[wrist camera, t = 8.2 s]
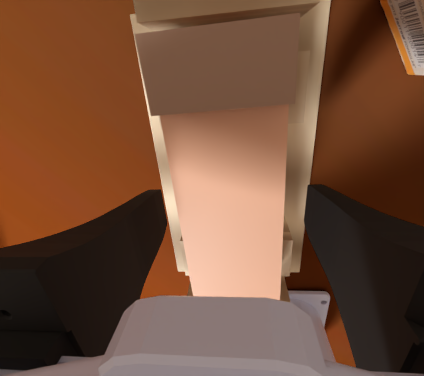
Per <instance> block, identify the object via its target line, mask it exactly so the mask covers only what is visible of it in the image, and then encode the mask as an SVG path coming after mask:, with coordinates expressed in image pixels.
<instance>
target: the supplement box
mask: <svg viewBox="0 0 424 376" xmlns="http://www.w3.org/2000/svg"><path fill="white" fill-rule="evenodd" d="M380 4H381V6H382V7H383V9H384V12H385V16H386V18H387V20H388V23H389V26H390V28H391V31H392V34H393V37H394V39H395V41H396V45H397V47H398V50H399V53H400V55H401V58H402V61H403V62H404V65H405V69H406V71H407V74H409V75H424V0H380Z"/></svg>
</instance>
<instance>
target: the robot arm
mask: <svg viewBox="0 0 424 376" xmlns="http://www.w3.org/2000/svg"><path fill="white" fill-rule="evenodd" d="M304 224H305V227H306V231H307V234H308V237H309V240H310V242H311V244H312V246H313V248H314V250H315V253H316V255H317V257H318V259H319V261H320V263H321V265H322V267H323V269H324V271H325V274H326V276H327V278H328V280H329V283H330V285H331V288H332V290H333V293H334V296H335V299H336V302H337V305H338V308H339V311H340V314H341V317H342V320H343V324H344V327H345V330H346V333H347V337H348V340H349V343H350V347H351V350H352V354H353V357H354V360H355V364H356V368H355V367H351V366H347V365H344V364H340V363H336V361H335V358H334V355H333V352H332V349H331V347H330V344H329V341H328V338H327V335H326V332H325V329H324V326H325V321H326V317H327V312H328V307H329V302H330V295H329V293H328V292H326V291H288V294H289V298H290V302H286V301H281V300H276V299H271V298H266V297H213V296H155V297H150V298H144V299H140V296H141V292H142V289H143V286H144V283H145V280H146V278H147V275H148V273H149V271H150V268H151V266H152V264H153V261H154V259H155V257H156V255H157V252H158V250H159V248H160V245H161V243H162V241H163V238H164V234H165V230H166V226H167V219H166V214H165V209H164V204H163V198H162V193H161V190H148V191H145V192H143V193H141V194H140V195H138V196H136V197H134V198H133V199H131V200H129V201H128V202H126V203H124V204H122V205H121V206H119V207H117V208H115V209H113V210H111V211H110V212H108V213H106V214H104V215H102V216H100V217H98V218H96V219H94V220H91V221H89V222H87V223H84V224H82V225H80V226H77V227H74V228H71V229H69V230H66V231H63V232H60V233H57V234H54V235H51V236H48V237H44V238H41V239H37V240H34V241H30V242H26V243H22V244H18V245H13V246H9V247H4V248H0V376H424V227H423V226H420V225H416V224H413V223H410V222H407V221H404V220H401V219H398V218H395V217H392V216H390V215H387V214H384V213H382V212H379V211H377V210H375V209H372V208H370V207H368V206H365V205H363V204H361V203H359V202H357V201H355V200H353V199H351V198H349V197H347V196H345V195H343V194H341V193H339V192H337V191H335V190H333V189H331V188H329V187H327V186H324V185H321V184H319V185H308V187H307V196H306V205H305V214H304ZM139 299H140V300H139Z"/></svg>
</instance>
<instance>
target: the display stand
mask: <svg viewBox="0 0 424 376" xmlns="http://www.w3.org/2000/svg"><path fill="white" fill-rule="evenodd" d="M133 3H134V8H135V14H131V15H130V18H131V23H132V29H133V34H134V39H135V34H139V33H146V32H154V31H162V30H169V29H177V28H185V27H193V26H200V25H208V24H216V23H223V22H231V21H239V20H247V19H254V18H262V17H270V16H277V15H285V14H293V13H300V27H299V45H298V63H297V81H296V99H295V104H289V112H288V135H287V157H286V179H285V202H284V224H283V246H282V268H281V291H280V300H281V301H286V302H290V298H289V294H288V290H287V285H286V281H285V277H284V276H290V272H300V263H301V255H302V246H303V237H304V229H305V224H304V214H305V205H306V196H307V187H308V185H310V176H311V168H312V159H313V150H314V142H315V133H316V124H317V116H318V107H319V98H320V90H321V81H322V72H323V63H324V55H325V46H326V37H327V29H328V20H329V11H330V3H331V0H133ZM135 44H136V39H135ZM136 50H137V55H138V60H139V66H140V71H141V76H142V82H143V87H144V92H145V98H146V103H147V108H148V114H149V119H150V124H151V130H152V135H153V140H154V145H155V151H156V156H157V161H158V167H159V172H160V177H161V183H162V188H163V193H164V199H165V204H166V209H167V215H168V220H169V225H170V231H171V236H172V241H173V247H174V252H175V257H176V262H177V268H178V271H185V274H186V275H189V271H188V266H187V260H186V255H185V249H184V244H183V239H182V233H181V228H180V222H179V217H178V212H177V206H176V201H175V196H174V190H173V185H172V179H171V174H170V169H169V163H168V158H167V153H166V147H165V142H164V136H163V131H162V126H161V120H160V116H151V114H150V109H149V104H148V99H147V94H146V89H145V84H144V79H143V74H142V69H141V64H140V59H139V54H138V49H137V44H136ZM187 296H193V292H192V287H191V282H190V285H189V290H188V295H187Z"/></svg>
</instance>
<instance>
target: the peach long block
mask: <svg viewBox="0 0 424 376" xmlns="http://www.w3.org/2000/svg"><path fill="white" fill-rule="evenodd" d="M299 27H300V13H293V14H285V15H277V16H270V17H262V18H254V19H247V20H239V21H231V22H223V23H216V24H208V25H200V26H193V27H185V28H177V29H169V30H162V31H154V32H146V33H139V34H135V39H136V44H137V49H138V54H139V59H140V64H141V69H142V74H143V79H144V84H145V89H146V94H147V99H148V104H149V109H150V114H151V116H160V120H161V126H162V131H163V136H164V142H165V147H166V153H167V158H168V163H169V169H170V174H171V179H172V185H173V190H174V196H175V201H176V206H177V212H178V217H179V222H180V228H181V233H182V239H183V244H184V249H185V255H186V260H187V266H188V271H189V276H190V282H191V287H192V292H193V296H213V297H266V298H271V299H276V300H280V291H281V268H282V246H283V224H284V202H285V179H286V157H287V135H288V112H289V104H295V99H296V81H297V63H298V45H299Z"/></svg>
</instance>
